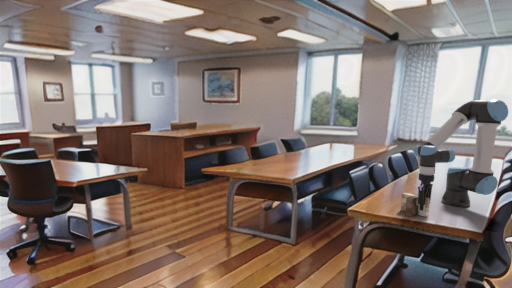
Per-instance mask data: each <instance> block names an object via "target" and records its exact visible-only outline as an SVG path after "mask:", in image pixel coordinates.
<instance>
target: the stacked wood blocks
mask: <svg viewBox="0 0 512 288" xmlns="http://www.w3.org/2000/svg"><path fill="white" fill-rule="evenodd" d="M410 196H413V197H417V198H416V206H418V213H417V216H420V215H419V207H420V204H418V196H417V195H415V194H412V193H409V192H402V193H401V200H400V201H401V203H400V211H403V212H406V198H407V197H410ZM430 204H431V199H430V198H426V199H425V216H424V217H425V218H427V217H428V216H429V214H430V213H429V211H430Z"/></svg>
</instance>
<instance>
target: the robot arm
mask: <svg viewBox="0 0 512 288" xmlns="http://www.w3.org/2000/svg"><path fill="white" fill-rule="evenodd" d="M508 115H509V108H508V105H507V104H506V103H505V102H504V101H503V100H500V99H484V100H483V99H482V100H481V99H474V100H470V101H468V102H465V103H464V104H461V106H460V107H458V108H456V110H454V111H453V112H452V114H451V117H449V118H448V119H447V121H446V122H445V123H443V124H442V125H441V126H440V127H439V128H438V129H437V131H435V132H434V133H433V135H431V136H430V137H429V138H428V139H427V140H426V141H425V142H423V144H419V145H418V144H417V145H416V146H414V148H413V155H414V156H415V157H416V158H419V166H418V181H421V182H420V185H419V186H418V187H417V189H418V204H420V207H419V215H418V216H422V217H425V199H426V198H430V200H432V199H431V197H432V192H433V191H432V189H433V186H434V185H433V183H434V182H435V174H436V163H437V164H440V163H442V164H443V163H444V164H447V163H452V162H454V161H455V159H456V152H455V151H454V150H453V149H451V148H440V147H442V145H444V144H445V143H446V142H447V141H448V139H450V138H451V137H452V136H453V135H454V134H455V133H456V132H457V131H458V130H459V129H460V128H461V127H462V126H463V125H466V124H467V123H469V122H471V121H475V125H476V126H477V131H476V138H475V145H474V146H475V147H474V154H473V161H472V166H471V167H466V166H465V167H464V166H463V167H459V166H457V167H453V166H452V167H449V168H448V169H447V173H446V185H445V190H444V192H443V194H442V197H441V202H442V203H443V204H446V205H449V206H452V207H460V208H461V207H462V208H467V207H470V206H471V199H470V196H469V192H471V193H476V194H477V195H478V194H479V195H484V196H486V195H487V196H488V195H491V194H493V192H494V191H496V189H497V187H498V184H499V181H498V179H497V177H496V176H494V173H495V172H494V171H493V170H492V164H493V163H492V162H493V157H494V149H495V142H496V135H497V134H496V133H497V130H498V129H497V128H498V127H500V126H501V125H502V122H503V121H505V120H506V119H507V117H508Z"/></svg>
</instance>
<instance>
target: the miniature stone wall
mask: <svg viewBox="0 0 512 288" xmlns="http://www.w3.org/2000/svg"><path fill="white" fill-rule="evenodd" d="M414 195H417V196H418V193H415V194H414ZM416 198H417V197H413V196H410V197H407V198H406V211H404V212H405V216H408V217H413V216H415V215H418V206H416Z"/></svg>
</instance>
